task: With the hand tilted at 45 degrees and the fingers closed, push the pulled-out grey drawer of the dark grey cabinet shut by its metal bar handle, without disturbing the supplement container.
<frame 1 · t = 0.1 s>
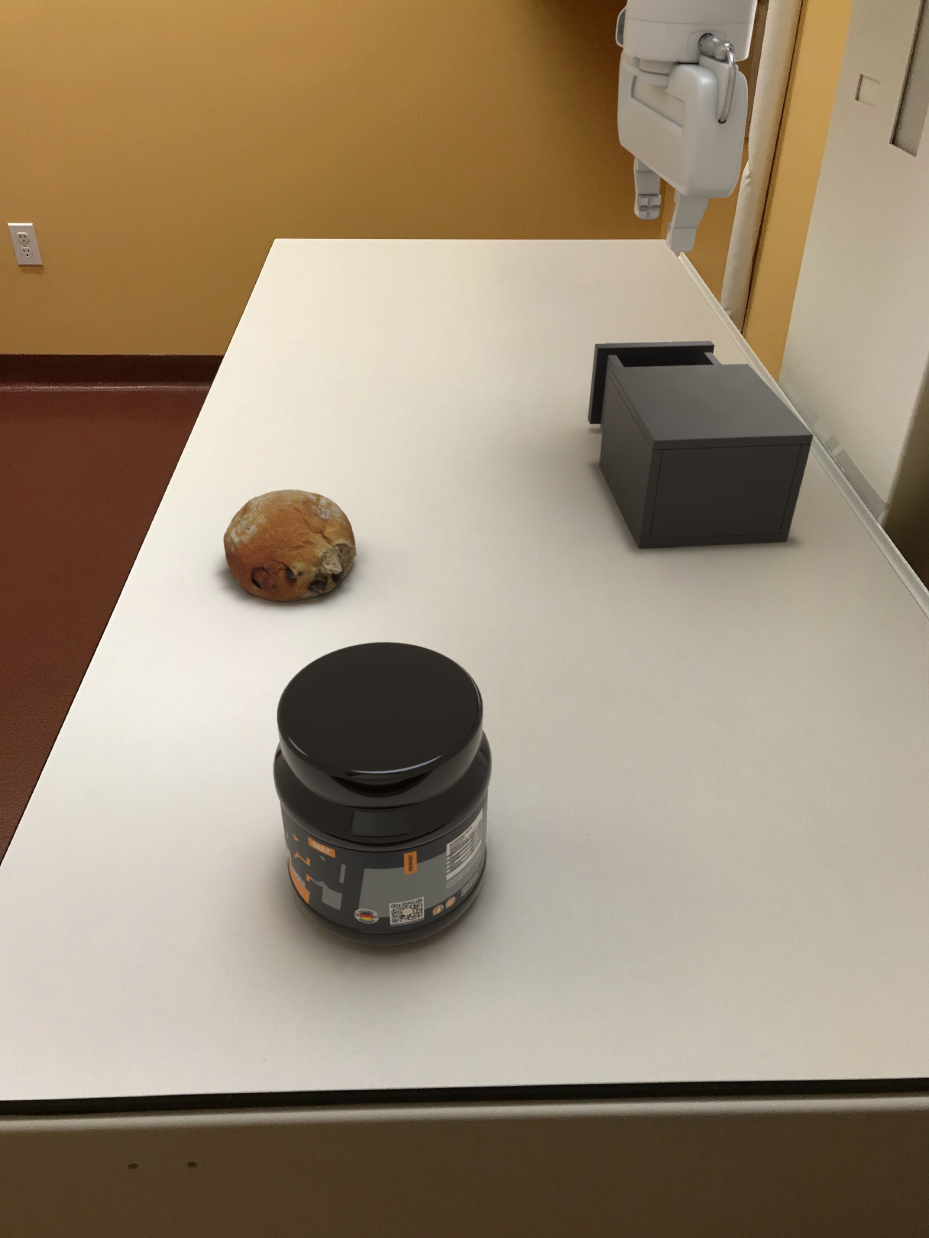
hand: (661, 233, 76), 21 cm above the table, tool pointing down, fingers open, 8 cm apart
bread roll: (294, 571, 75), on the table
dark grey cabinet: (687, 501, 84), on the table
supplement container: (388, 873, 51), on the table
grey drawer: (661, 400, 90), point 5 cm above the table, slide at 7.0 cm
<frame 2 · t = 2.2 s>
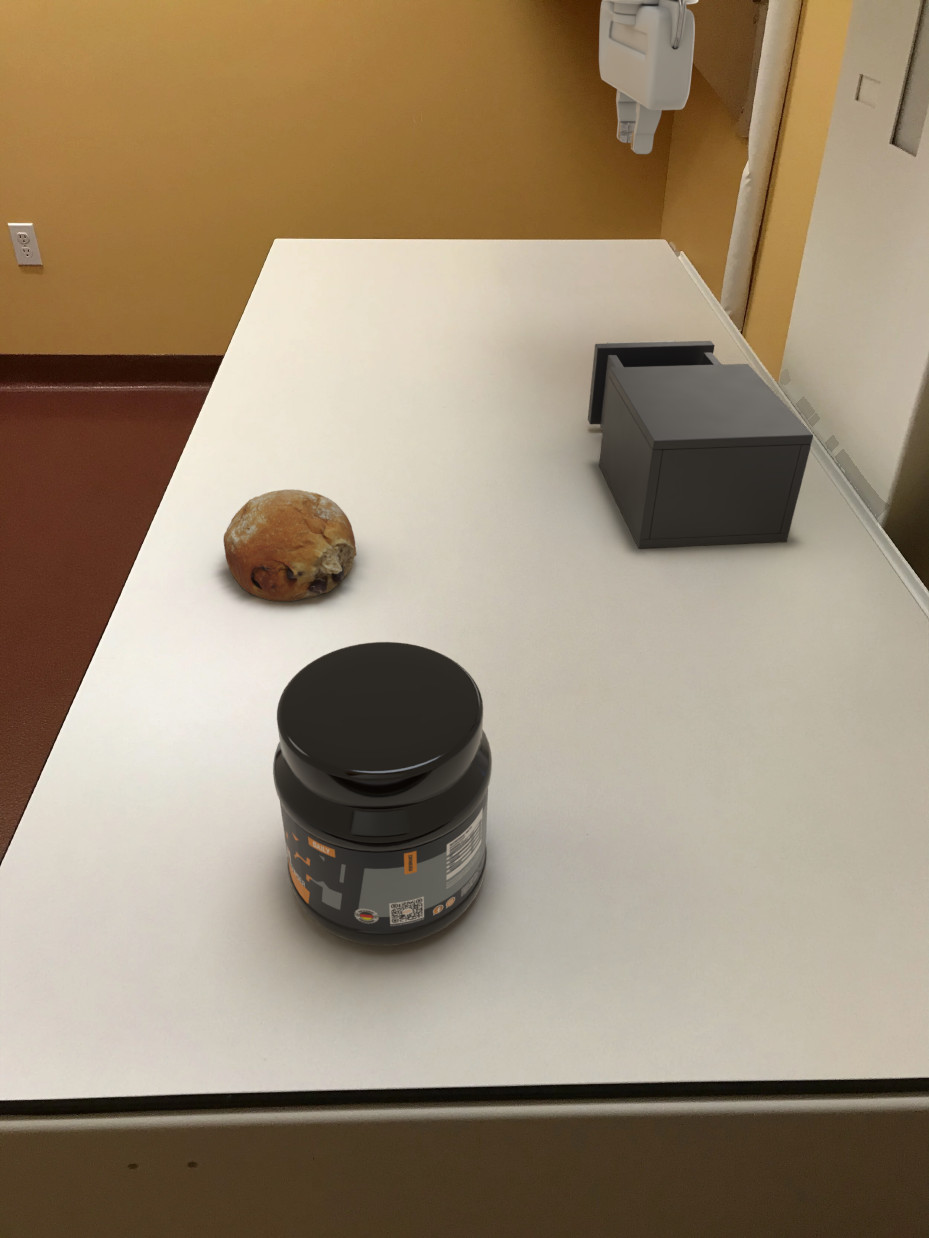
hand: (633, 147, 95), 23 cm above the table, tool pointing down, fingers open, 4 cm apart
nothing on the table moved.
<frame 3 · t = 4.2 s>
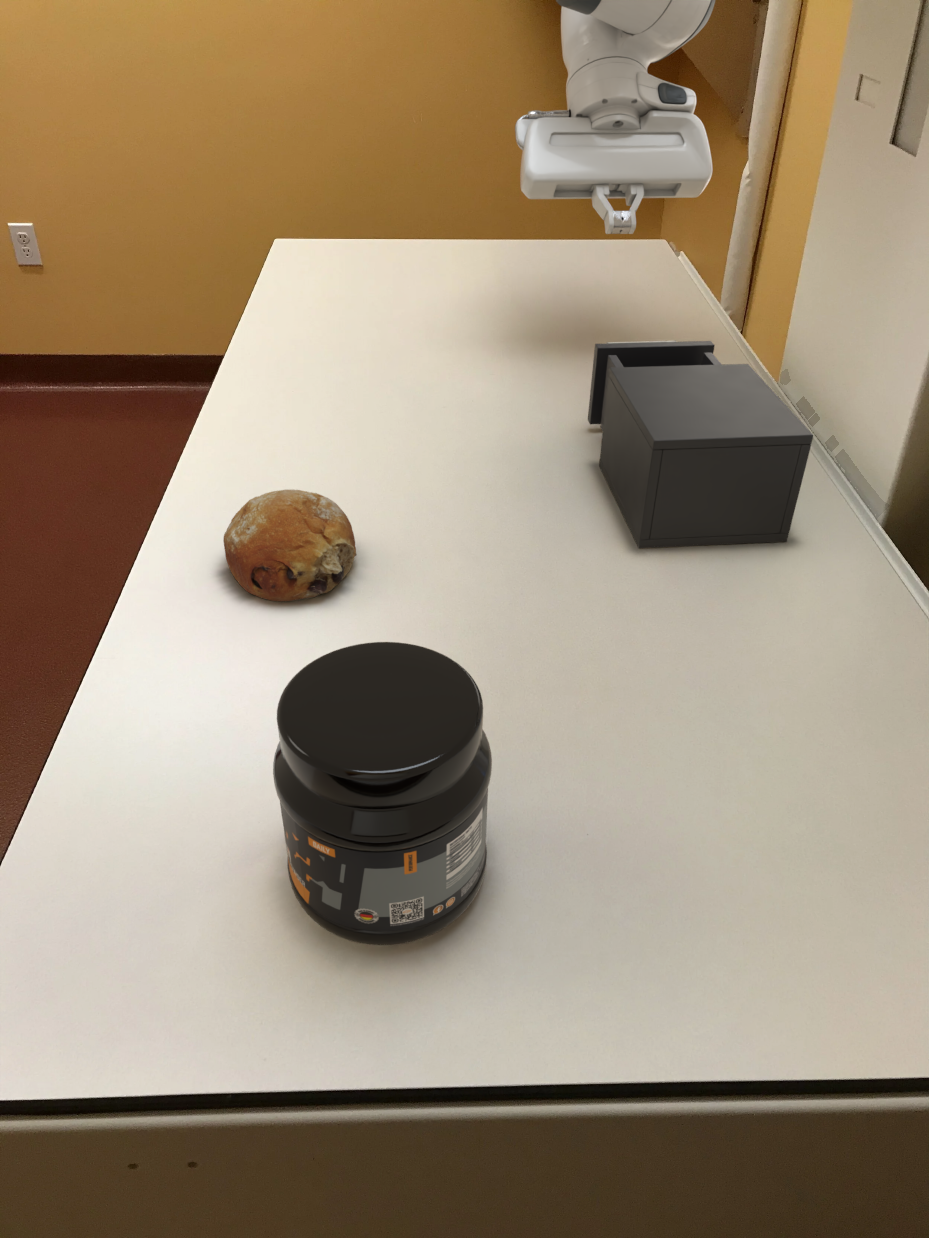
hand: (621, 231, 101), 15 cm above the table, tool tilted 45°, fingers closed
nothing on the table moved.
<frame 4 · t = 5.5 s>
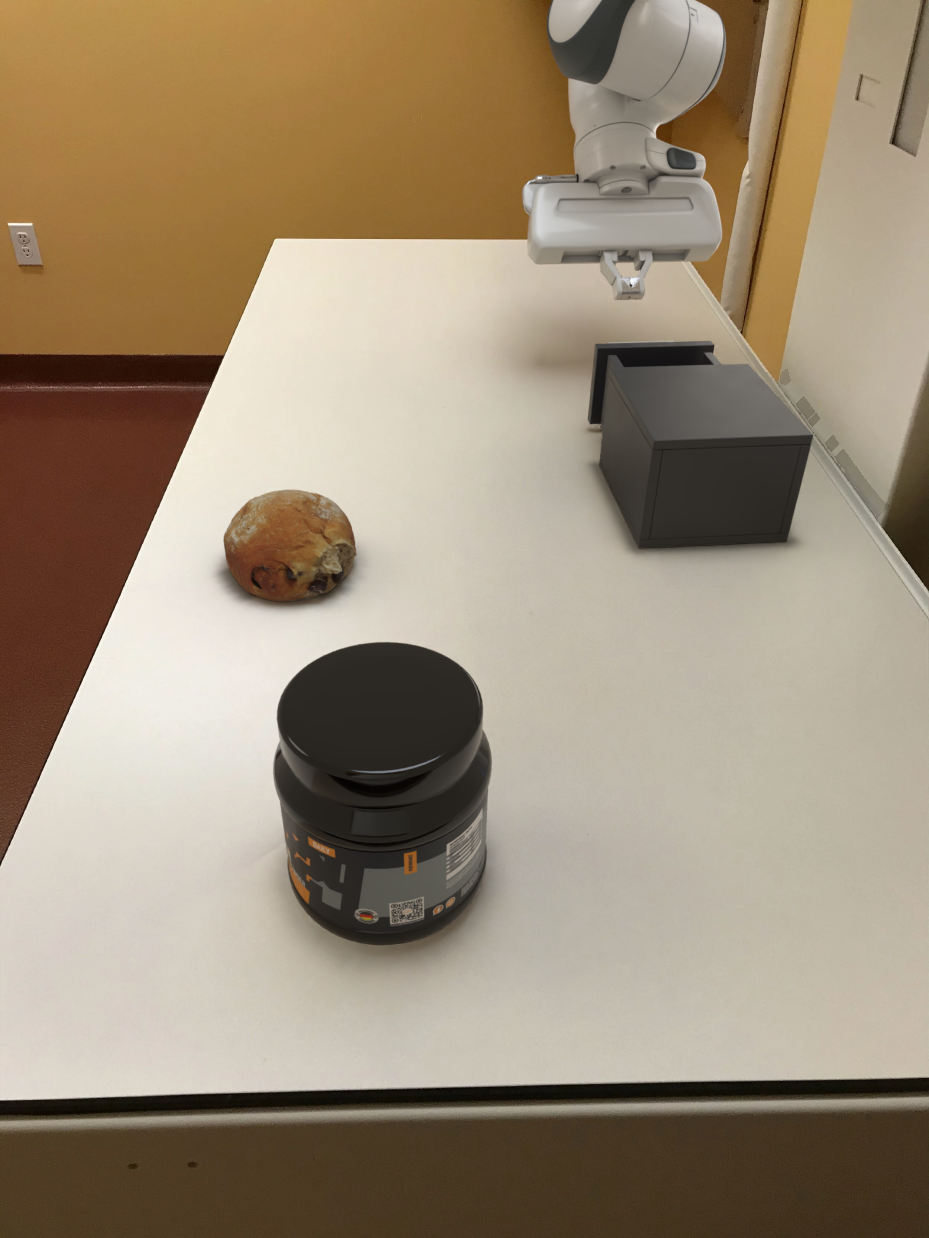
hand: (629, 297, 99), 10 cm above the table, tool tilted 45°, fingers closed
nothing on the table moved.
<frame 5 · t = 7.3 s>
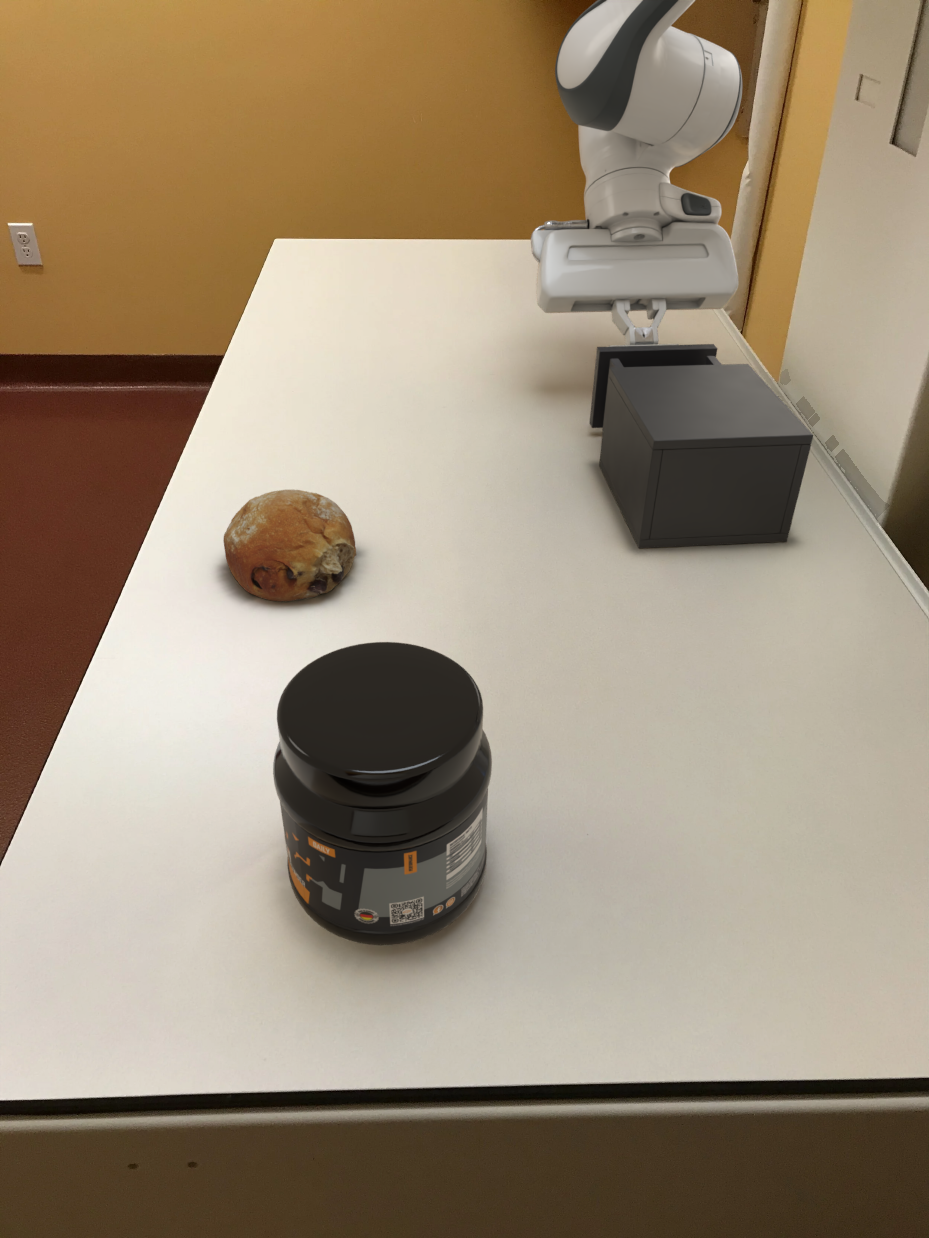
hand: (642, 348, 96), 7 cm above the table, tool tilted 45°, fingers closed, pressing on grey drawer
grey drawer: (663, 403, 90), point 5 cm above the table, slide at 6.1 cm, touching gripper
everything else where it was.
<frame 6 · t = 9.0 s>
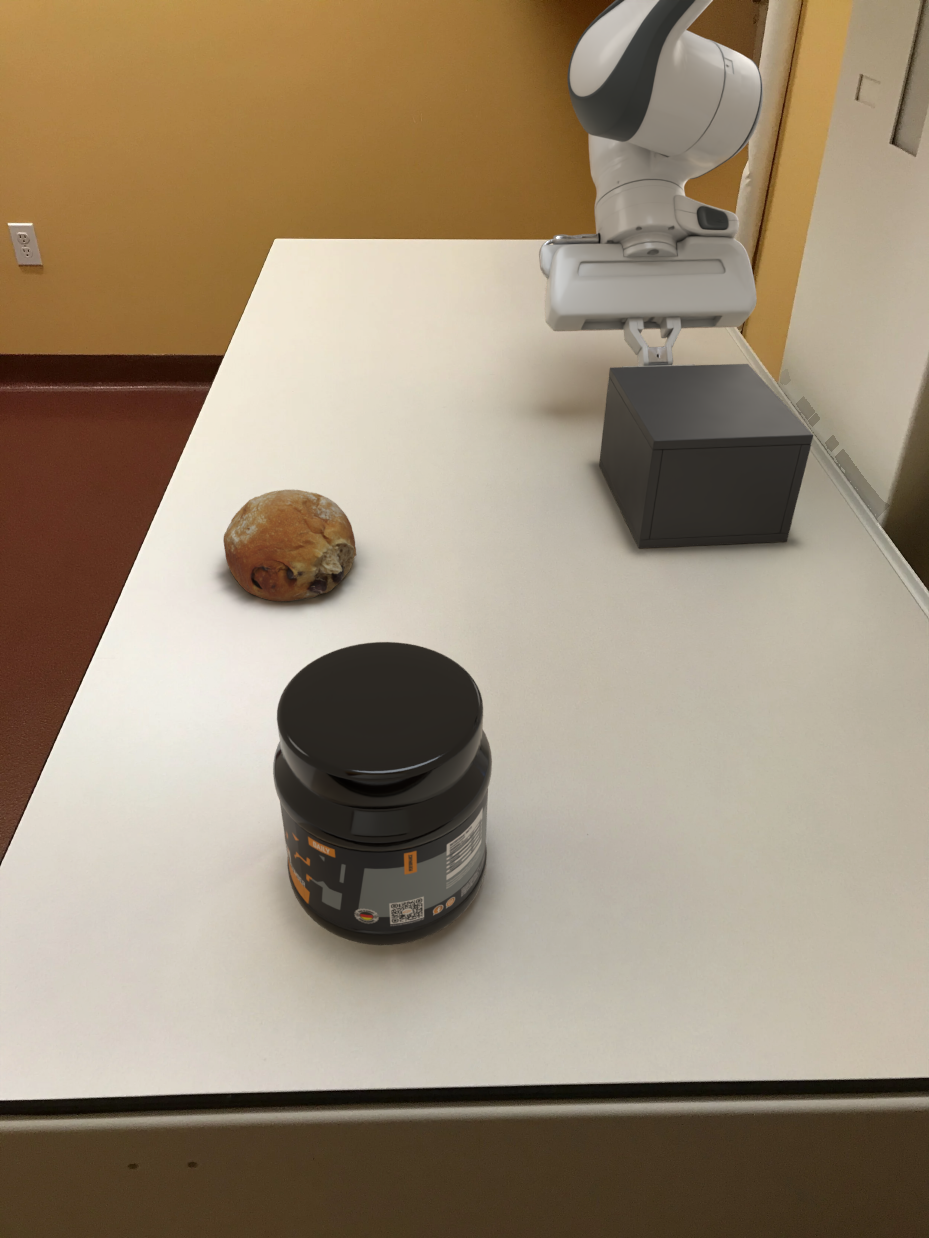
hand: (656, 368, 91), 7 cm above the table, tool tilted 45°, fingers closed, pressing on grey drawer
grey drawer: (680, 428, 85), point 5 cm above the table, slide at 0.7 cm, touching gripper
everything else where it was.
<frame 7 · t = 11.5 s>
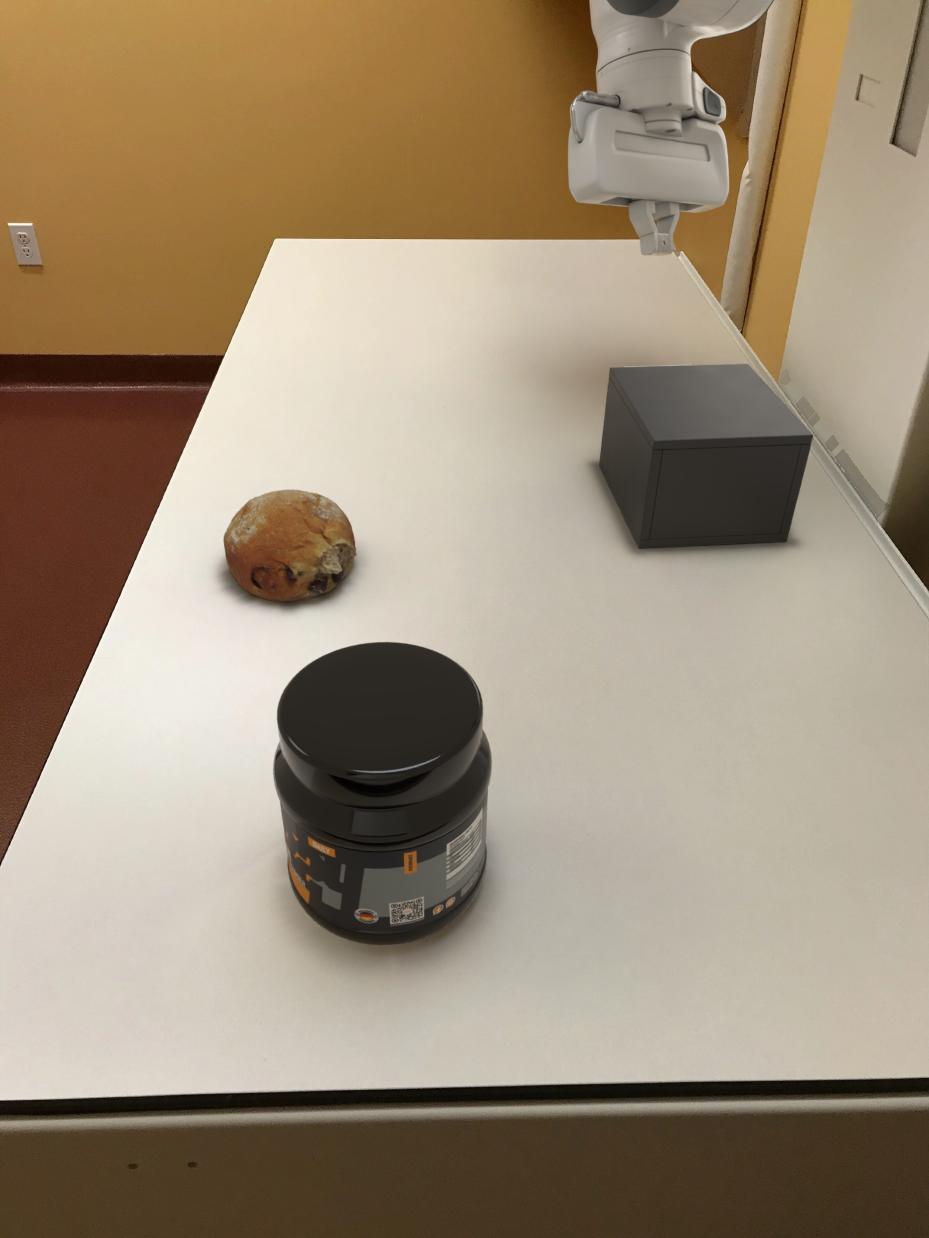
hand: (657, 254, 93), 15 cm above the table, tool tilted 25°, fingers closed
grey drawer: (680, 428, 85), point 5 cm above the table, slide at 0.7 cm
everything else where it was.
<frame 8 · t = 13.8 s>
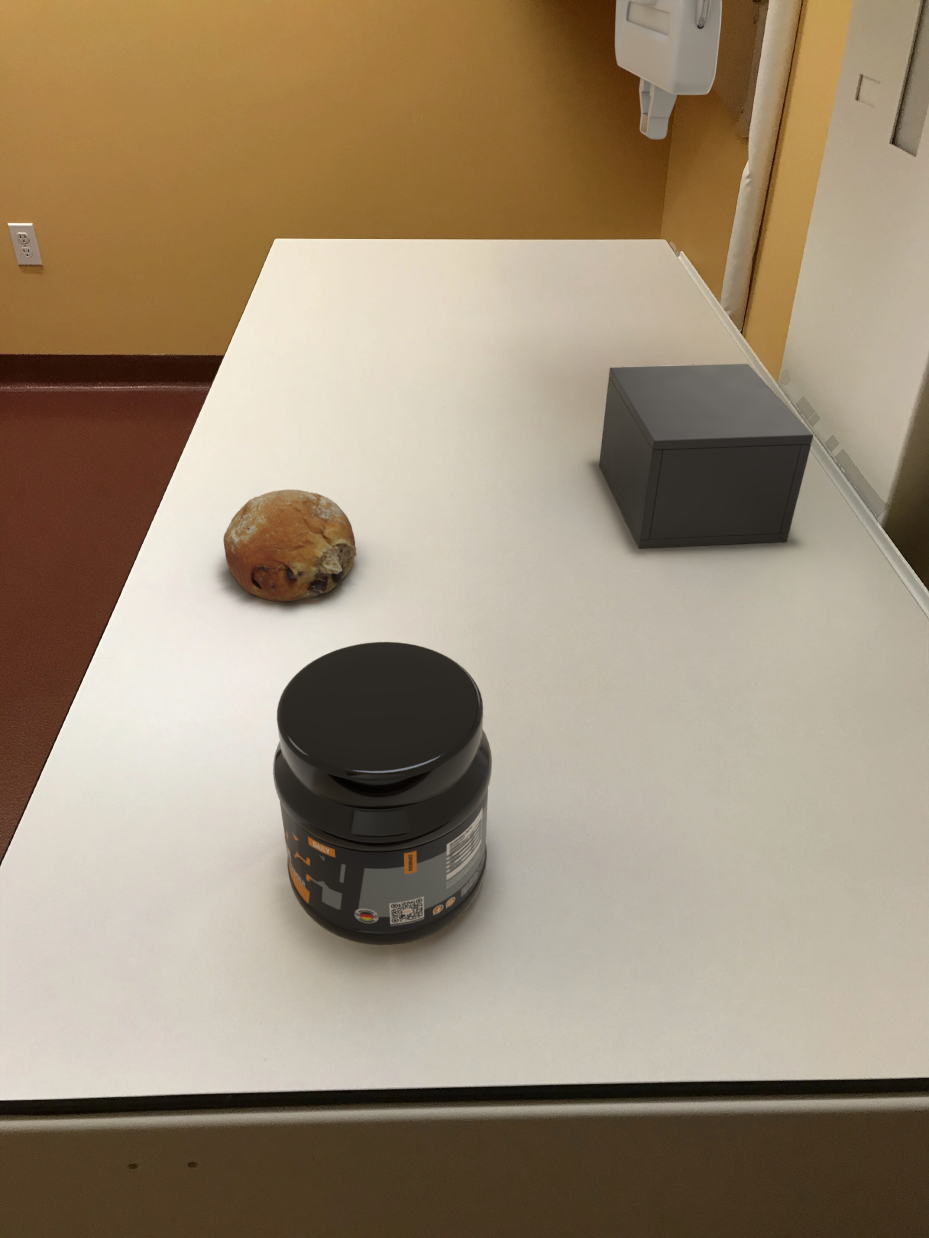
hand: (652, 136, 89), 25 cm above the table, tool pointing down, fingers closed
nothing on the table moved.
at the end: grey drawer slide at 0.7 cm; supplement container moved 0.2 cm from its start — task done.
